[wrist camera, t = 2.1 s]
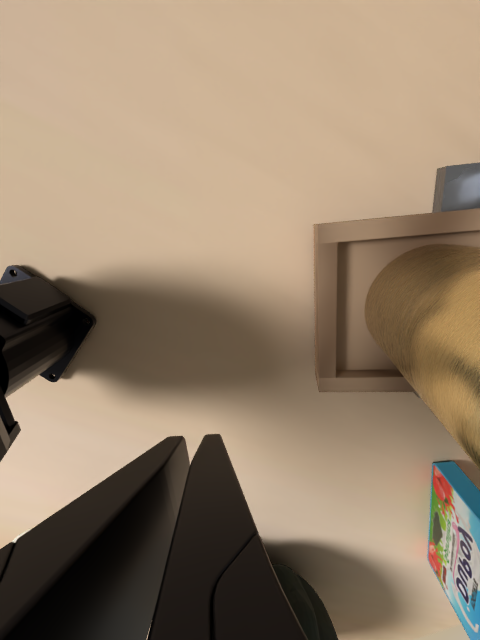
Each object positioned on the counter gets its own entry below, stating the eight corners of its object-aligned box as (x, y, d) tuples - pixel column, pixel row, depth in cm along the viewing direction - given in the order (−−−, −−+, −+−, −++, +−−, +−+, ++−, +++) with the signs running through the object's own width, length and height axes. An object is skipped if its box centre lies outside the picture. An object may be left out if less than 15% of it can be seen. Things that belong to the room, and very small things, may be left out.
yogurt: (432, 460, 23) (494, 539, 17) (451, 458, 23) (520, 537, 17) (426, 558, 27) (476, 652, 21) (443, 557, 26) (498, 651, 21)
